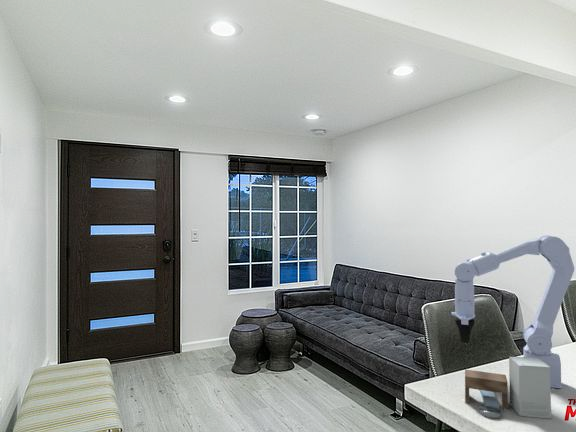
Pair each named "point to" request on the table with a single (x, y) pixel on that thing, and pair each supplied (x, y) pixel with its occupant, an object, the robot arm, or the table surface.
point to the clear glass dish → (490, 412)
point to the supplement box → (530, 387)
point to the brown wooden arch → (486, 384)
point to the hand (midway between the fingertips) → (464, 342)
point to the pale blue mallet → (489, 399)
